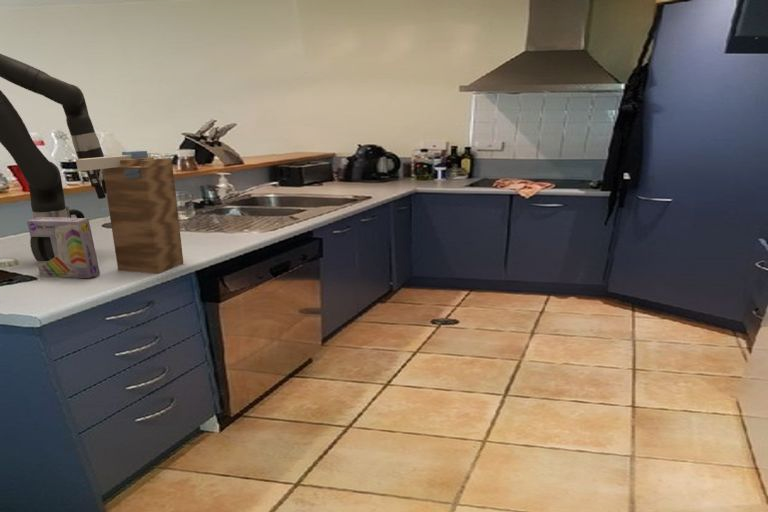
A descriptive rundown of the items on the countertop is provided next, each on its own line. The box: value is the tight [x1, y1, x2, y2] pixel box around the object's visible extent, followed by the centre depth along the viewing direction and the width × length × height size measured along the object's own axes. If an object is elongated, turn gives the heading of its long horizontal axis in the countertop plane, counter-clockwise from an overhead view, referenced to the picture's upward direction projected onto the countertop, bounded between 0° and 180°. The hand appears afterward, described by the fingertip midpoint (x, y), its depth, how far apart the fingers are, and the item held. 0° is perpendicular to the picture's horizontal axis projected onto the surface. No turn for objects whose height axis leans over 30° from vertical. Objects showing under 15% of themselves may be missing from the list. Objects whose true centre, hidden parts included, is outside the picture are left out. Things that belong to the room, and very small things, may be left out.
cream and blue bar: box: [75, 150, 150, 172], centre depth 149 cm, size 24×4×4 cm, turn 163°
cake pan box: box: [26, 217, 101, 279], centre depth 151 cm, size 19×5×18 cm, turn 77°
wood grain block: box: [103, 157, 184, 275], centre depth 157 cm, size 13×15×34 cm
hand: (104, 195), depth 171 cm, fingers open, 8 cm apart
